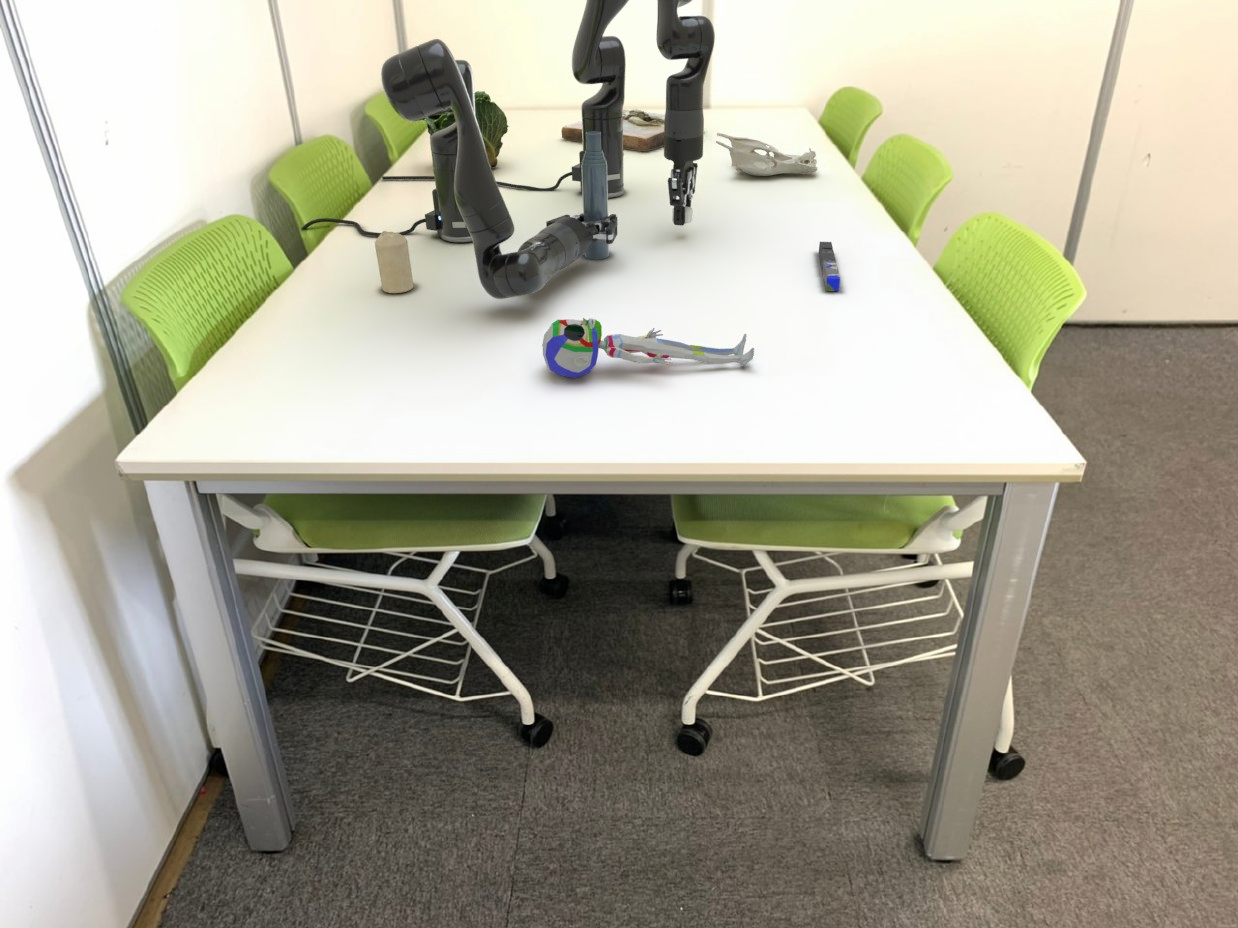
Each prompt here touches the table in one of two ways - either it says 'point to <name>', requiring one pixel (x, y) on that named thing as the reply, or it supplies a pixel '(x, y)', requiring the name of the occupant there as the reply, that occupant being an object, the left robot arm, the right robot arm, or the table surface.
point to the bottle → (595, 190)
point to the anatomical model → (766, 158)
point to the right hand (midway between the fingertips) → (682, 221)
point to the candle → (394, 262)
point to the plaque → (630, 130)
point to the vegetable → (488, 121)
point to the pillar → (829, 266)
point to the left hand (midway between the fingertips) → (601, 217)
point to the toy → (622, 348)
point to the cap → (686, 215)
